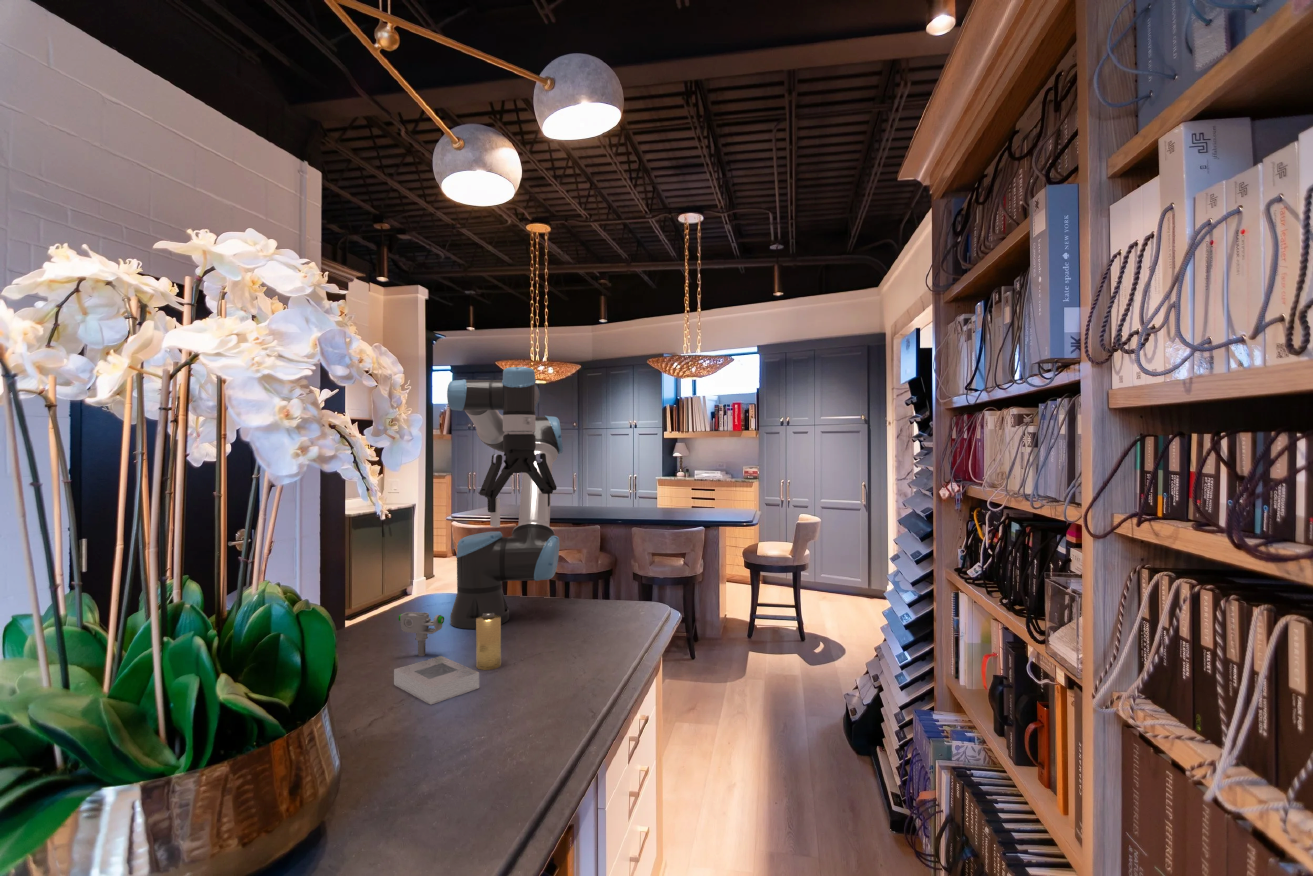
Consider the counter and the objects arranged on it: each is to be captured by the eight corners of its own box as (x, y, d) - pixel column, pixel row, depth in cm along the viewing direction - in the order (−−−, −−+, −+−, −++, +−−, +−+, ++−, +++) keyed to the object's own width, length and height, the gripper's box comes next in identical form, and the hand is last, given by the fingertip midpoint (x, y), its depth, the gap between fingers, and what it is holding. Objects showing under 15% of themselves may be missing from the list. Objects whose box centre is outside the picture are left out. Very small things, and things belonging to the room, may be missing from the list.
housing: (394, 689, 123) (393, 669, 123) (441, 675, 130) (441, 655, 130) (430, 710, 114) (430, 688, 114) (479, 693, 121) (479, 672, 121)
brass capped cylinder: (471, 670, 133) (471, 613, 133) (492, 664, 137) (491, 608, 137) (485, 676, 130) (484, 618, 130) (505, 670, 133) (505, 613, 133)
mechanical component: (439, 663, 137) (438, 617, 137) (396, 660, 140) (396, 615, 140) (446, 658, 140) (446, 613, 140) (404, 655, 142) (404, 611, 142)
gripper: (482, 433, 137) (482, 531, 137) (570, 433, 156) (571, 519, 156) (463, 433, 142) (464, 527, 142) (551, 433, 161) (551, 517, 161)
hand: (520, 523), depth 149 cm, fingers open, 13 cm apart
